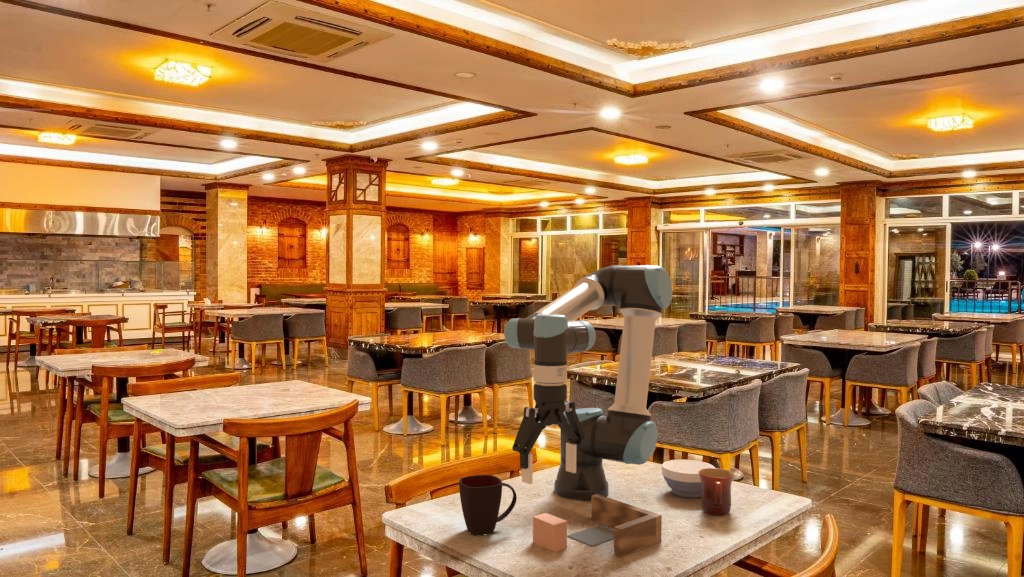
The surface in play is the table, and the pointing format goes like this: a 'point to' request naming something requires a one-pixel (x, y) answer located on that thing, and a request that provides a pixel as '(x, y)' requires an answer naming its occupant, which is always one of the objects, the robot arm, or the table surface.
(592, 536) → the pad
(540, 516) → the block
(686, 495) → the bowl
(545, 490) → the table surface
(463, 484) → the mug
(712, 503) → the mug
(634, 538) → the corner walls
